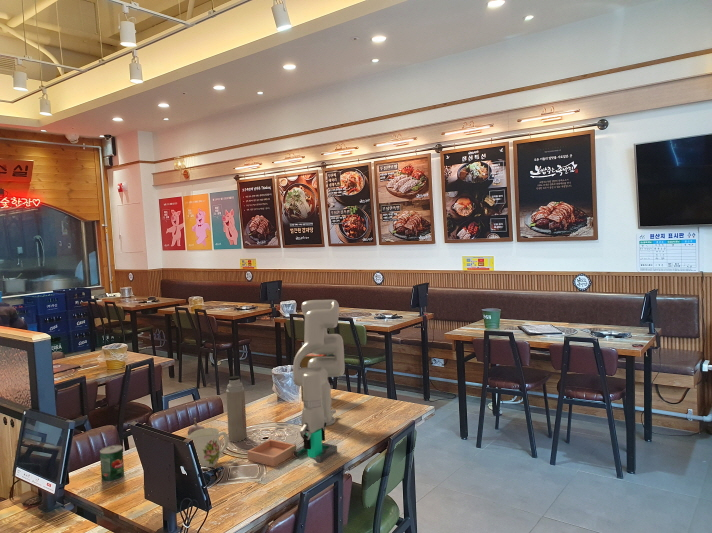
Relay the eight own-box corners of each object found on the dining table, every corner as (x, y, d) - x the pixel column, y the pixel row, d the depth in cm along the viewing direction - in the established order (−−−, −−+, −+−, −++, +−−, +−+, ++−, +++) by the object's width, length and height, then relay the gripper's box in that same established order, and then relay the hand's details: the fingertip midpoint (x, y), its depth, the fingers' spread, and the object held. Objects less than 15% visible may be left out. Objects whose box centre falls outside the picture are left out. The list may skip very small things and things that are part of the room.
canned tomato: (122, 480, 192) (120, 451, 191) (99, 483, 190) (97, 454, 189) (125, 471, 200) (124, 443, 199) (103, 474, 197) (101, 446, 197)
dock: (311, 446, 217) (311, 440, 217) (337, 451, 210) (336, 445, 210) (294, 456, 207) (293, 450, 206) (320, 463, 200) (320, 456, 200)
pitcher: (236, 460, 206) (234, 426, 205) (196, 476, 193) (194, 440, 192) (221, 453, 213) (219, 420, 213) (181, 468, 200) (179, 434, 199)
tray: (270, 447, 218) (270, 439, 217) (296, 453, 210) (296, 444, 210) (247, 459, 206) (247, 451, 206) (274, 466, 198) (273, 457, 198)
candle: (307, 452, 211) (306, 423, 210) (322, 451, 211) (321, 422, 211) (307, 458, 205) (306, 429, 204) (322, 457, 205) (321, 427, 205)
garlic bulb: (184, 436, 234) (183, 419, 234) (196, 431, 241) (195, 414, 240) (196, 439, 231) (195, 421, 230) (208, 433, 237) (207, 416, 237)
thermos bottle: (249, 435, 232) (246, 374, 231) (242, 442, 224) (239, 379, 223) (233, 434, 234) (230, 374, 232) (225, 441, 226) (222, 379, 225)
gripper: (317, 395, 216) (319, 435, 217) (292, 407, 201) (294, 450, 202) (332, 398, 212) (334, 438, 213) (307, 410, 198) (309, 453, 198)
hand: (314, 444), depth 208 cm, fingers open, 9 cm apart
